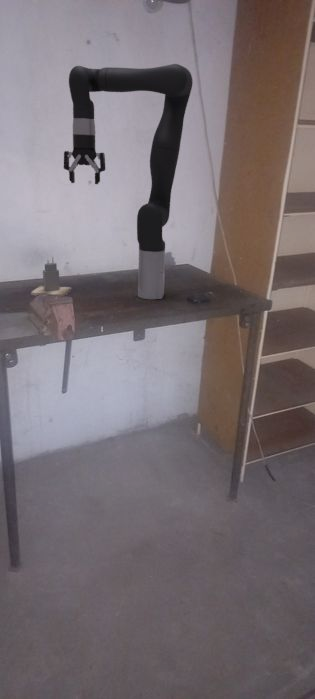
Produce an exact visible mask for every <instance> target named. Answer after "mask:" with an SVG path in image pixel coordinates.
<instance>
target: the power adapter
mask: <svg viewBox="0 0 315 699" xmlns="http://www.w3.org/2000/svg"><path fill="white" fill-rule="evenodd" d="M57 265H58V264H57V263H55V262H54V257H53V256H52V262H49V261H47V263H45V264H44V269H43V270H42V278H43V279H42V280H43V282H42V284H43V286H44V291H56V290H60V287H61V286H60V270H59V269H58V266H57Z"/></svg>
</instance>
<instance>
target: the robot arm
mask: <svg viewBox="0 0 315 699" xmlns="http://www.w3.org/2000/svg"><path fill="white" fill-rule="evenodd" d="M68 87H69V92H70V96H71V97H70V98H71V100H72V115H73V120H72V151H69V150H65V151H63V169H64V170H66V171H68V175H69V176H68V177H69V178H68V179H69V182H71V184H75V180H76V178H75V170H76V169H77V167H78V166H84V165H85V166H91V168H92V169H93V170H94V185H99V183H100V182H101V173H102V172H104V171H106V155H105V153H104V152H96V125H95V124H96V123H95V103H94V102H93V100H91V95H90V93H97V92H107V93H131V92H153V93H158V94H162V95H164V103H163V109H162V114H161V117H160V119H159V122H158V125H157V127H156V130H155V132H154V135H153V139H152V143H151V149H150V156H149V170H150V178H151V188H150V194H149V197H148V203H145V204H143V205H142V206H140V207H139V209H138V211H137V216H136V237H137V238H136V240H137V243H138V279H137V280H138V281H137V283H138V284H137V297H138V298H140V299H144V300H162V299H163V298H164V295H165V280H166V279H165V274H166V270H165V257H166V256H165V255H166V241H165V240H164V239H163V228H164V226H166V225H167V223H168V221H169V218H170V210H171V199H172V198H171V195H172V188H173V185H174V180H175V175H176V169H177V165H178V159H179V154H180V150H181V149H180V148H181V141H182V136H183V130H184V128H183V127H184V120H185V119H184V118H185V115H186V110H187V106H188V102H189V100H190V96H191V92H192V87H193V77H192V73H191V72H190V70H189V69H187V68H186V67H185V66H183V65H180V64H179V63H178V64H177V63H172V64H167V65H162V66H156V67H149V68H148V67H147V68H146V67H145V68H134V67H133V68H130V67H129V68H128V67H102V68H88V67H85V66H82V65H75V66H74V67H72V68H71V70H70V72H69V75H68ZM72 157H73V159H74V161H72V163H71V165H70V159H71V158H72ZM96 158H97V159H98V160H99V166H100V167H99V166H98V163H96V161H95V160H96Z"/></svg>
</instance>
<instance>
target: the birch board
mask: <svg viewBox="0 0 315 699" xmlns="http://www.w3.org/2000/svg"><path fill="white" fill-rule="evenodd" d="M71 291H72V287H71V286H70V287H69V286H60V290H56V291H44V285H39V286H37V288H35V289H33V290H32V291H31V292H30V295H31V296H36V297H37V295H39V294H48V295H66V296H67V295H68V294H69V293H70V292H71Z"/></svg>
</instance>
